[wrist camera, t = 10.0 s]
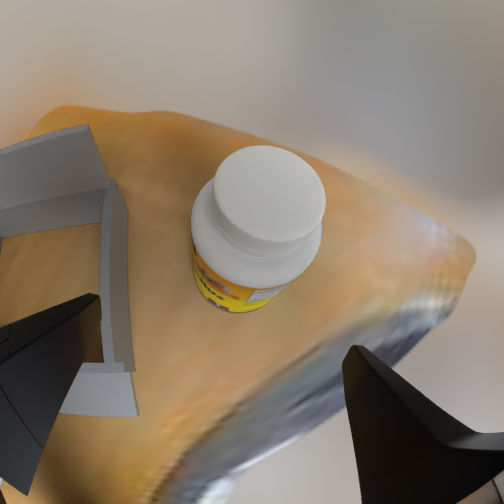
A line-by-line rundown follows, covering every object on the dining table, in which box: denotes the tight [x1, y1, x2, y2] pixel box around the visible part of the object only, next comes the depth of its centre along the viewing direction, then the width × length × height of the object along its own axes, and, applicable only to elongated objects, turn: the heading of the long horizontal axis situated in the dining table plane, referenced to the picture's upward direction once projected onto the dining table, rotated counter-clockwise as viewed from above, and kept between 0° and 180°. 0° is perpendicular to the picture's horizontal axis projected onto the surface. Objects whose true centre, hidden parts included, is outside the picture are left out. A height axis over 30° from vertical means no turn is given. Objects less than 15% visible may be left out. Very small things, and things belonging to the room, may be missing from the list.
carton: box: [0, 124, 139, 417], centre depth 11 cm, size 14×13×9 cm
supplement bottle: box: [191, 145, 326, 314], centre depth 14 cm, size 6×6×10 cm
